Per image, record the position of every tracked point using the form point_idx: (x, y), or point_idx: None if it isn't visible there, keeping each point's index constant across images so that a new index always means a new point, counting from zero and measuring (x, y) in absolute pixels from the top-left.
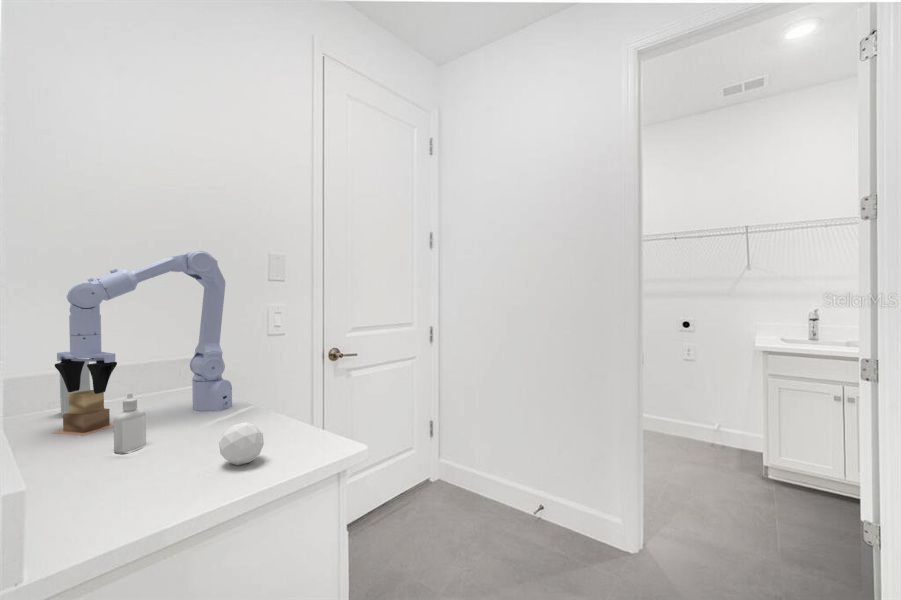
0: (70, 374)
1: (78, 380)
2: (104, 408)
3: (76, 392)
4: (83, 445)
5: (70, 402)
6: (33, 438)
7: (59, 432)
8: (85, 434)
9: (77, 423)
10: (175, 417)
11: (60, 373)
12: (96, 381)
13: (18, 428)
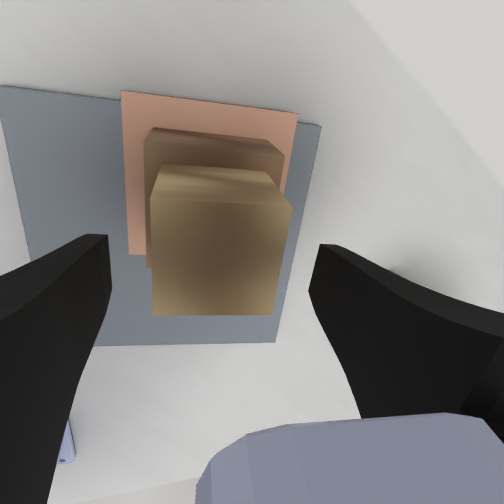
0: (382, 330)
1: (334, 334)
2: None
3: (280, 250)
4: (29, 2)
5: (267, 188)
6: (346, 87)
7: (267, 122)
8: (126, 107)
9: (192, 138)
10: None
11: (460, 302)
12: (19, 270)
13: (481, 190)
